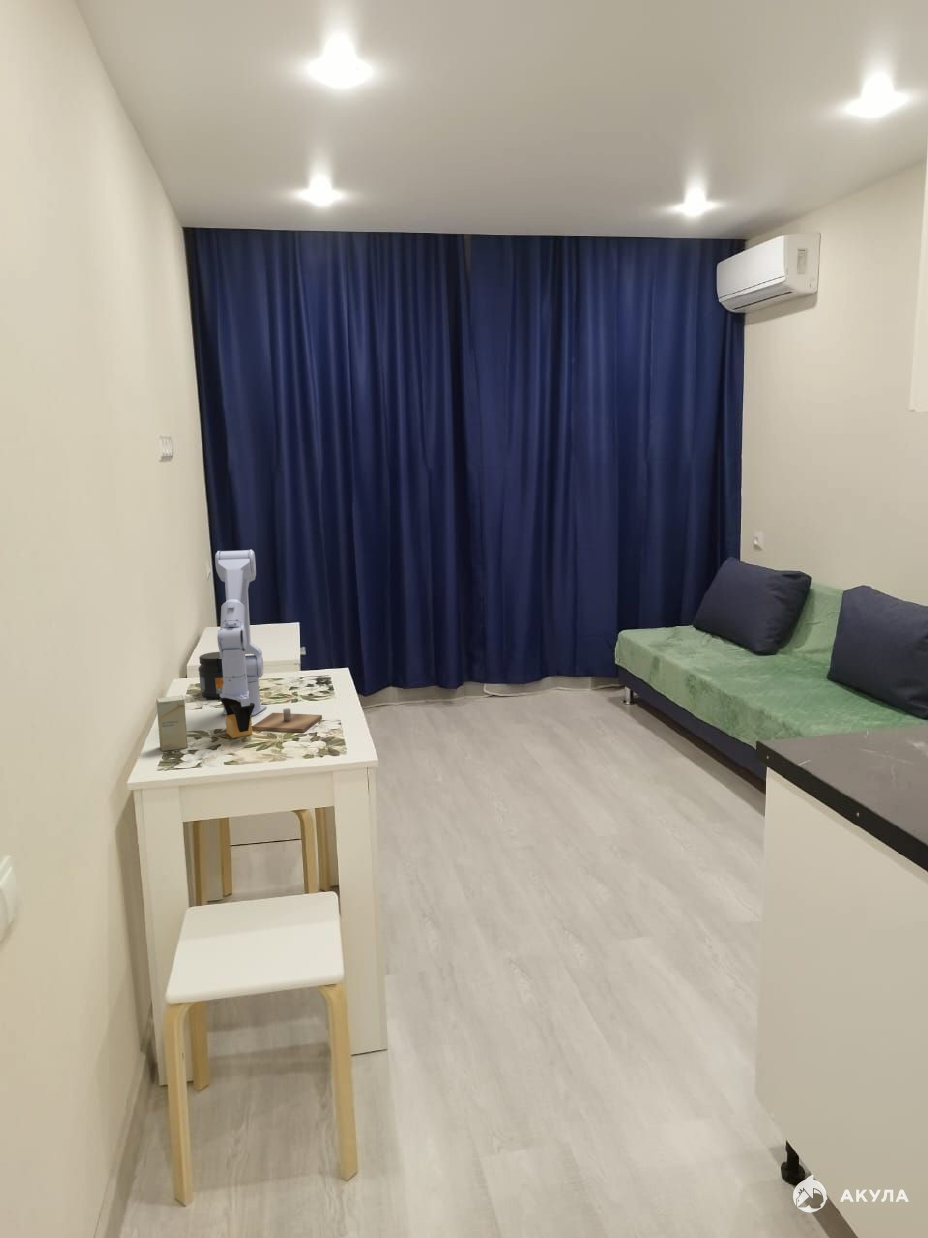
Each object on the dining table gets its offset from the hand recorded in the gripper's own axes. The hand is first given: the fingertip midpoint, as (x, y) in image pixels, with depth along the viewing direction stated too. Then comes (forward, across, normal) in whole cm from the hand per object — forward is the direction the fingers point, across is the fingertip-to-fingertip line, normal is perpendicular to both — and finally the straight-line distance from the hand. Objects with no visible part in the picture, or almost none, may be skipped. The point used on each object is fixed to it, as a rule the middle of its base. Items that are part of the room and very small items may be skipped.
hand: (239, 727), depth 224 cm
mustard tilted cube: (+2, 0, 0) cm, 2 cm away
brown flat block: (+2, 0, +13) cm, 13 cm away
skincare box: (+2, +1, -16) cm, 16 cm away
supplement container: (+2, -39, +6) cm, 39 cm away
